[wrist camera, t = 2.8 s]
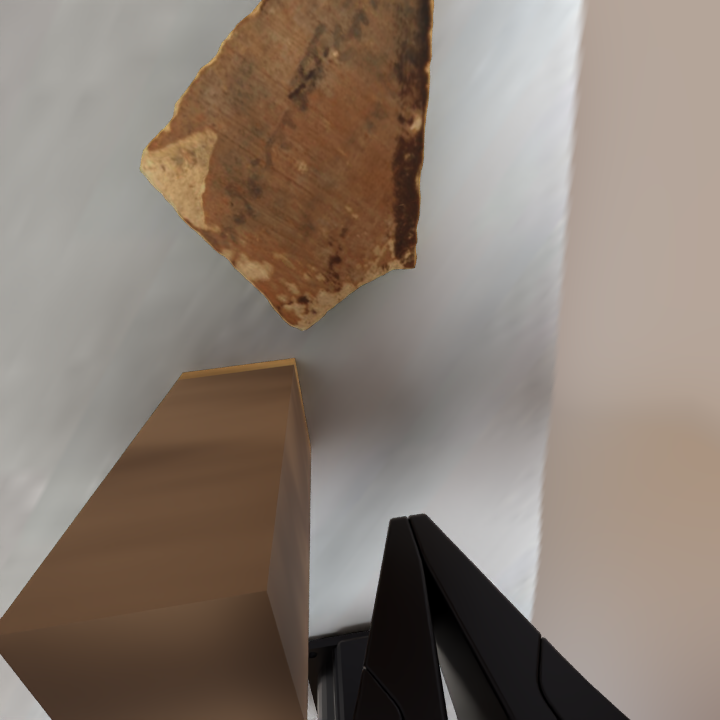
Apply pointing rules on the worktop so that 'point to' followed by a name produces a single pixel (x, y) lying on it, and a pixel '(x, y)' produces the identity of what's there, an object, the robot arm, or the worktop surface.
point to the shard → (305, 148)
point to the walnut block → (183, 566)
